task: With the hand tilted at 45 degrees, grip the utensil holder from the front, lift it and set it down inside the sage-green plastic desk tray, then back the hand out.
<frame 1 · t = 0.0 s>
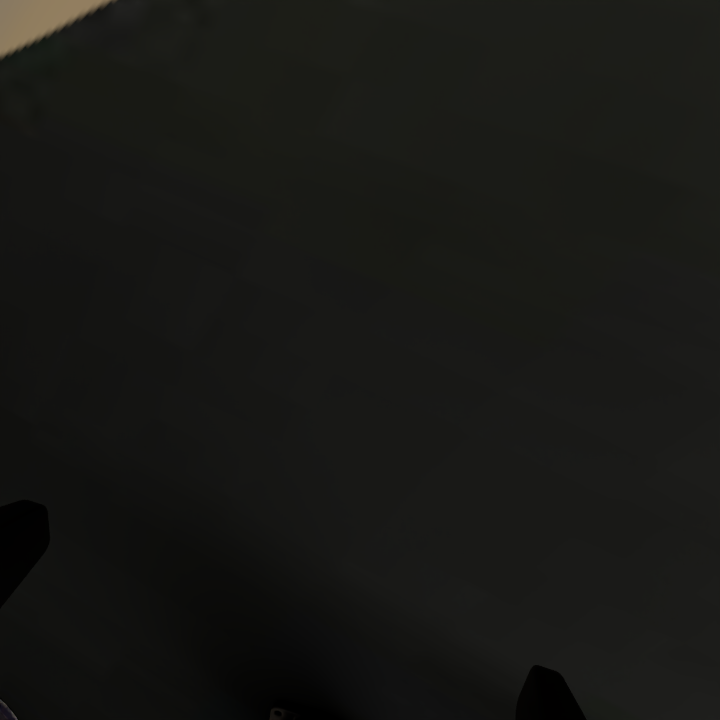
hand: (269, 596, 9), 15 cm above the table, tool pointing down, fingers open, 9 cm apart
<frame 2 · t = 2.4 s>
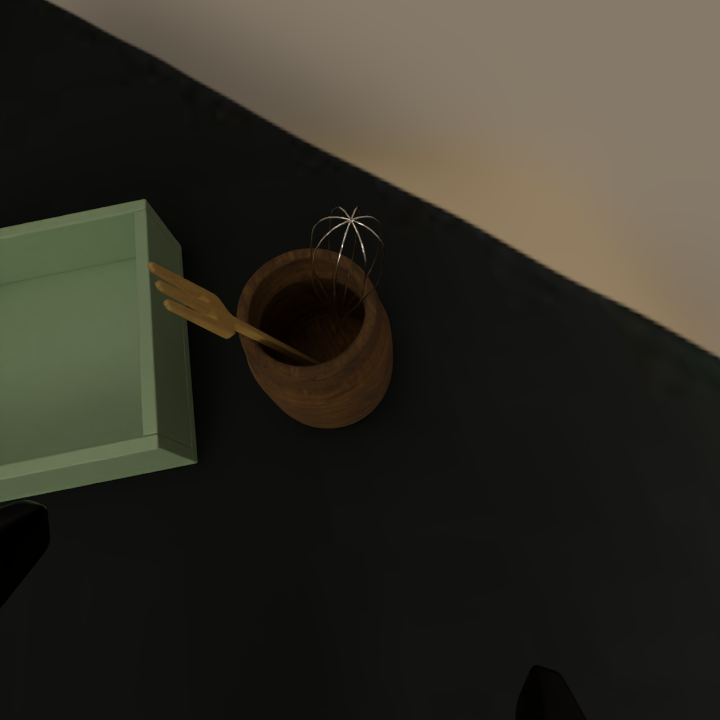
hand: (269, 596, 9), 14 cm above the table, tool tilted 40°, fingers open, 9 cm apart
utensil holder: (329, 373, 25), on the table
tray: (74, 369, 26), on the table
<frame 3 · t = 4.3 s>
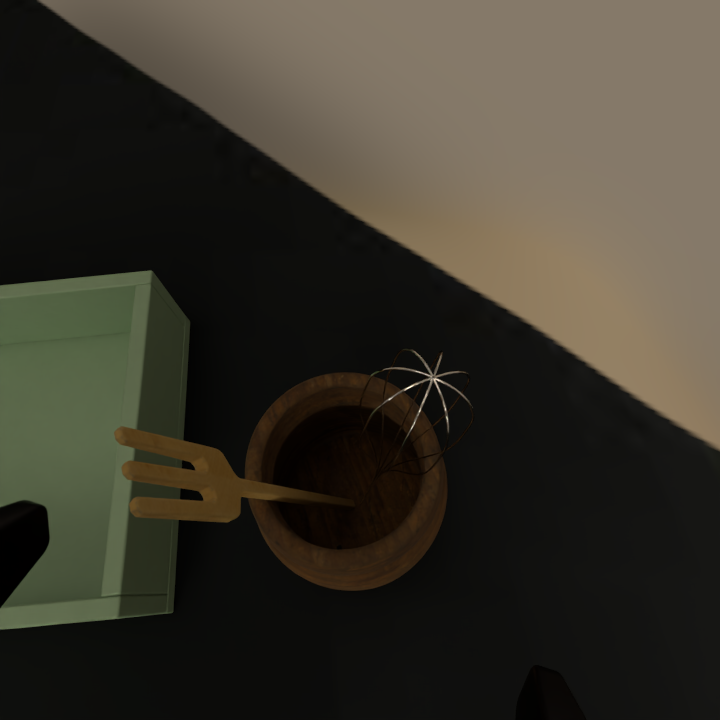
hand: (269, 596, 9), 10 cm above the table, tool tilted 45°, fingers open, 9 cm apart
utensil holder: (353, 506, 19), on the table
tray: (38, 464, 21), on the table
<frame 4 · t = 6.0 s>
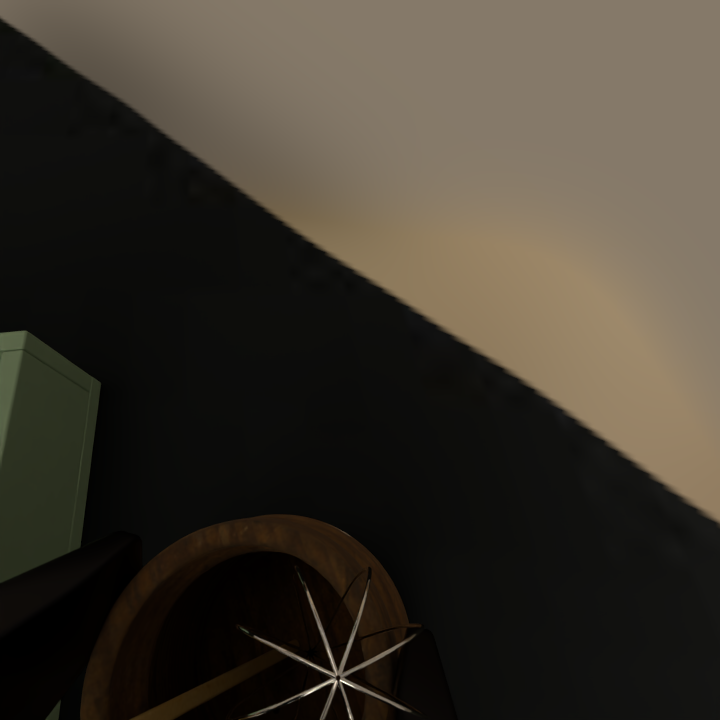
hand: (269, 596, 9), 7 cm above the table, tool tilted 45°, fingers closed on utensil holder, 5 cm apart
utensil holder: (300, 642, 15), on the table, touching gripper
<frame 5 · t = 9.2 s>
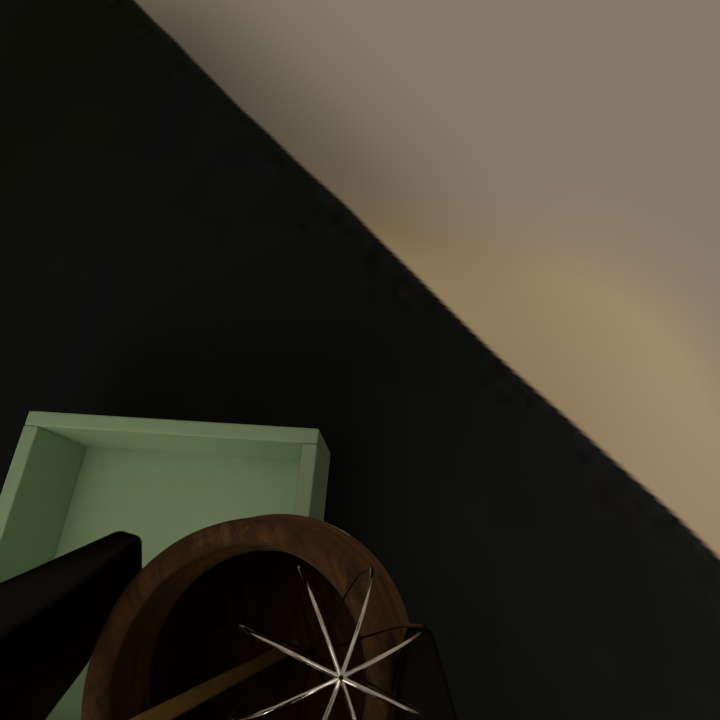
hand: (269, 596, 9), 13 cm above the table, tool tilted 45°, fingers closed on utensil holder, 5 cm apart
utensil holder: (300, 642, 15), point 6 cm above the table, touching gripper
tray: (178, 581, 21), on the table
when the fingers open (7 cm above the table, at t = 12.4 s): utensil holder stays where it is, resting on tray.
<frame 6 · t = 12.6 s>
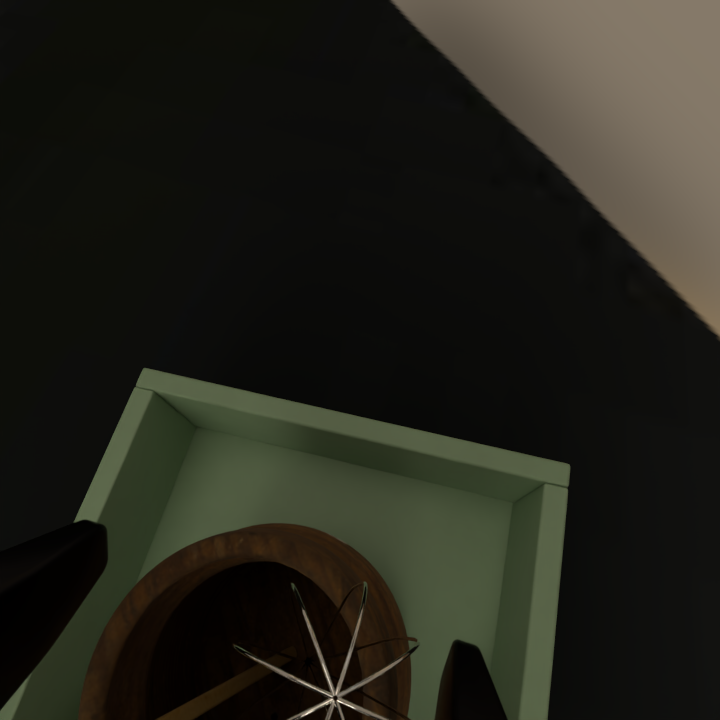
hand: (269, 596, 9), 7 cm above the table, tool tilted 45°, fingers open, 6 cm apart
utensil holder: (297, 649, 15), resting on tray
tray: (304, 640, 15), on the table
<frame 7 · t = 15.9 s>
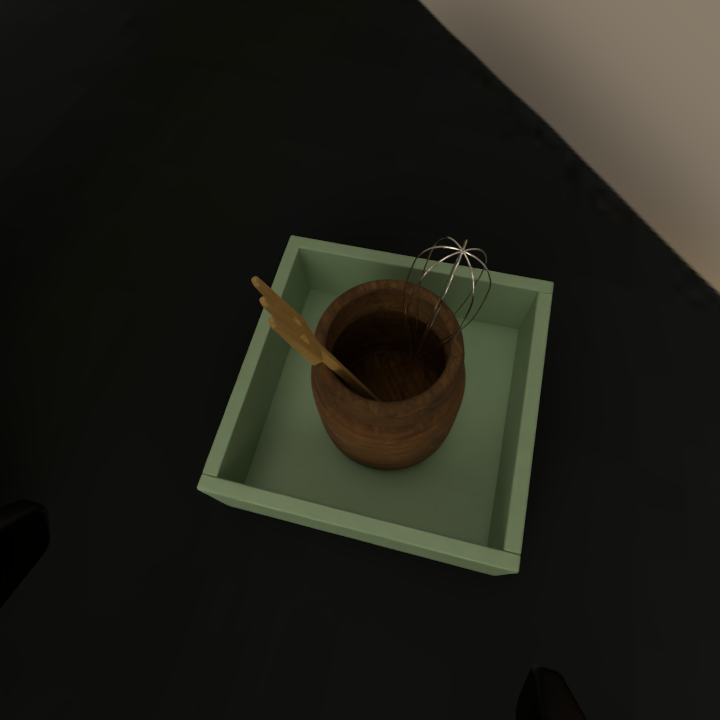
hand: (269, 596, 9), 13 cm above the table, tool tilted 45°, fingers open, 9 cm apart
utensil holder: (384, 411, 23), resting on tray
tray: (387, 410, 24), on the table
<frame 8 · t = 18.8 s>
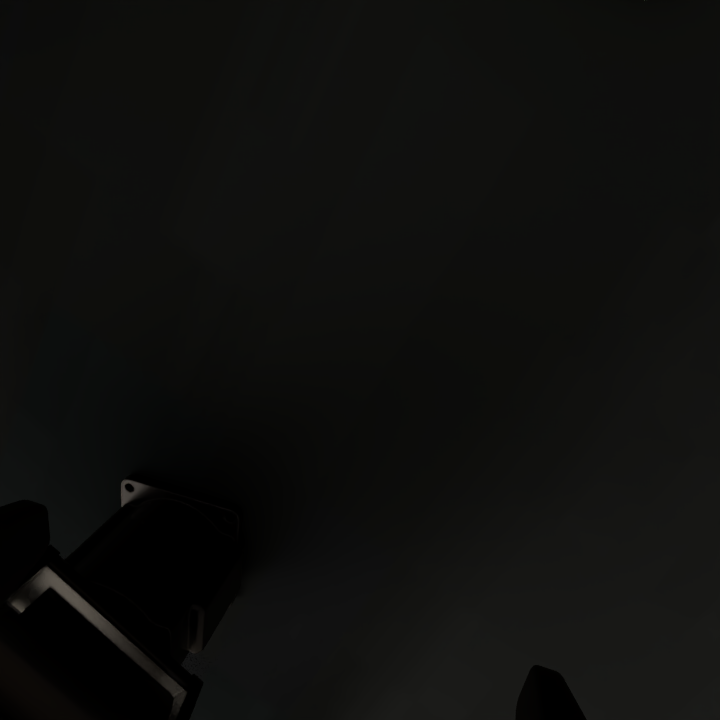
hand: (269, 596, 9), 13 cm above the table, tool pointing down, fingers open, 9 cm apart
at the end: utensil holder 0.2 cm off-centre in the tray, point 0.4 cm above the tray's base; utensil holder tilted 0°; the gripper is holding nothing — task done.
